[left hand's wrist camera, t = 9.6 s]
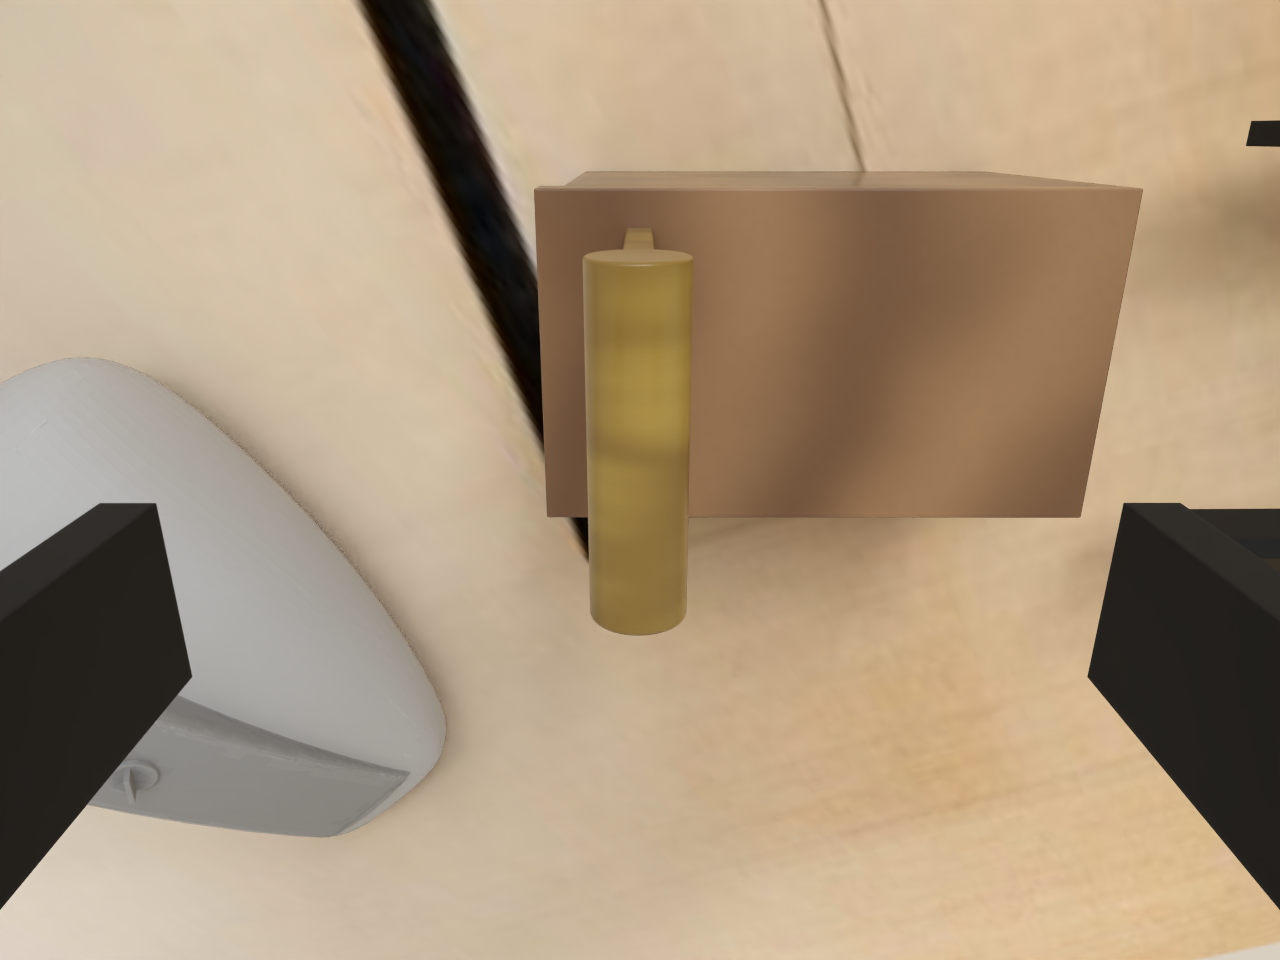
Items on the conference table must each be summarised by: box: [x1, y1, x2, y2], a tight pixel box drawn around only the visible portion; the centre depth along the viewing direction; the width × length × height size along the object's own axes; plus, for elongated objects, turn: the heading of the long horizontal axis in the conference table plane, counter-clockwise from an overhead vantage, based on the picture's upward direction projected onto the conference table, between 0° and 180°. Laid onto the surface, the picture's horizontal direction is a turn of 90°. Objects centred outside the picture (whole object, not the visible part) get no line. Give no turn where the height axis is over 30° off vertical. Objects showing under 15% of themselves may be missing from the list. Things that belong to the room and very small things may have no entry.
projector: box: [0, 357, 446, 837], centre depth 34 cm, size 22×23×15 cm
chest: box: [565, 172, 1113, 186], centre depth 31 cm, size 15×9×10 cm, turn 90°
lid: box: [534, 186, 1143, 635], centre depth 22 cm, size 16×9×10 cm, turn 90°
